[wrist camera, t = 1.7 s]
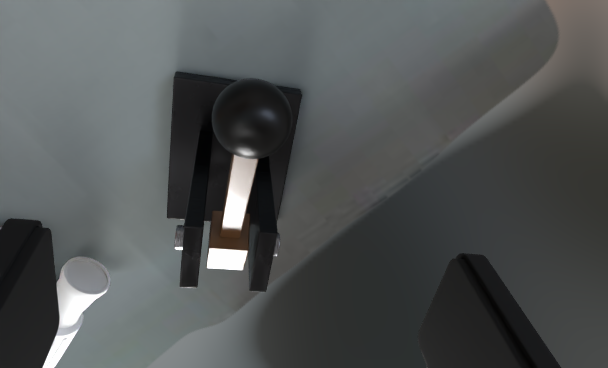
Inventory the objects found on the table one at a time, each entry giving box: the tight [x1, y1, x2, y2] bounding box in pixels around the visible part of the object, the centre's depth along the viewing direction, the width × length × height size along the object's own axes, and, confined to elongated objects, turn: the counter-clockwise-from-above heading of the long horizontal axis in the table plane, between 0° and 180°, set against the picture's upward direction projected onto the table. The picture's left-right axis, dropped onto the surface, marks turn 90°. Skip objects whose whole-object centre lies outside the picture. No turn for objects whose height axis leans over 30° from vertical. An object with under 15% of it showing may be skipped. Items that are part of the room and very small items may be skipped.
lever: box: [206, 78, 292, 270], centre depth 23 cm, size 14×3×3 cm, turn 169°
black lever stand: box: [167, 72, 302, 292], centre depth 32 cm, size 12×9×13 cm
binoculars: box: [0, 227, 111, 368], centre depth 41 cm, size 10×16×5 cm, turn 145°
